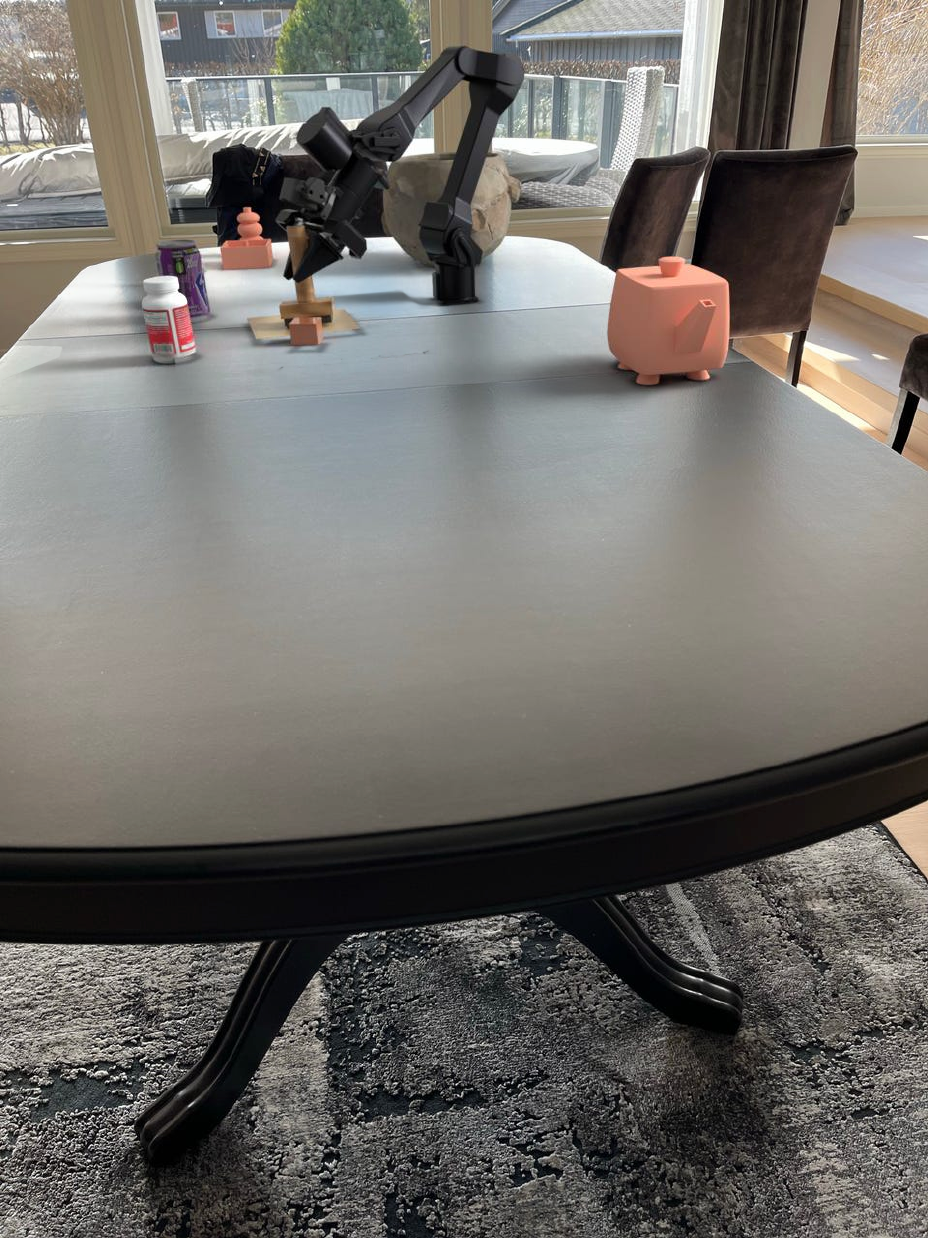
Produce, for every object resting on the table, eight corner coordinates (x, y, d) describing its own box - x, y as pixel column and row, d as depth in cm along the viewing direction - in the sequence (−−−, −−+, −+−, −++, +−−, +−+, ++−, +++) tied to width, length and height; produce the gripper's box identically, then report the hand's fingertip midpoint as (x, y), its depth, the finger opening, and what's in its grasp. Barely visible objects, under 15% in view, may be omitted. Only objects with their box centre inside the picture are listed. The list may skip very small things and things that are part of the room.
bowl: (352, 270, 190) (343, 159, 179) (436, 247, 210) (432, 147, 199) (463, 282, 176) (460, 164, 166) (541, 257, 196) (543, 150, 186)
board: (345, 314, 157) (344, 308, 156) (361, 334, 145) (361, 327, 145) (248, 324, 153) (247, 317, 153) (256, 345, 141) (255, 338, 141)
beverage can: (199, 324, 154) (186, 246, 148) (159, 323, 155) (145, 246, 149) (217, 313, 160) (205, 238, 154) (179, 313, 161) (165, 238, 155)
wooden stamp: (336, 317, 149) (323, 222, 143) (334, 322, 145) (321, 224, 139) (285, 322, 149) (270, 227, 143) (282, 327, 145) (267, 229, 139)
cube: (324, 344, 141) (321, 316, 139) (319, 351, 137) (316, 323, 135) (297, 344, 141) (294, 317, 139) (292, 351, 138) (288, 323, 136)
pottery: (269, 267, 195) (263, 216, 190) (223, 269, 194) (215, 218, 189) (276, 252, 210) (270, 204, 205) (233, 254, 210) (227, 206, 205)
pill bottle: (192, 350, 140) (178, 272, 134) (201, 360, 135) (187, 280, 129) (149, 356, 137) (133, 277, 132) (157, 367, 133) (141, 285, 127)
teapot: (747, 393, 115) (763, 271, 108) (649, 402, 113) (658, 279, 106) (677, 347, 134) (686, 241, 126) (591, 354, 132) (596, 247, 124)
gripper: (279, 151, 144) (223, 237, 144) (341, 157, 131) (280, 252, 131) (329, 202, 152) (276, 283, 152) (392, 212, 139) (335, 301, 139)
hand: (290, 279), depth 143 cm, fingers closed on wooden stamp, 3 cm apart
